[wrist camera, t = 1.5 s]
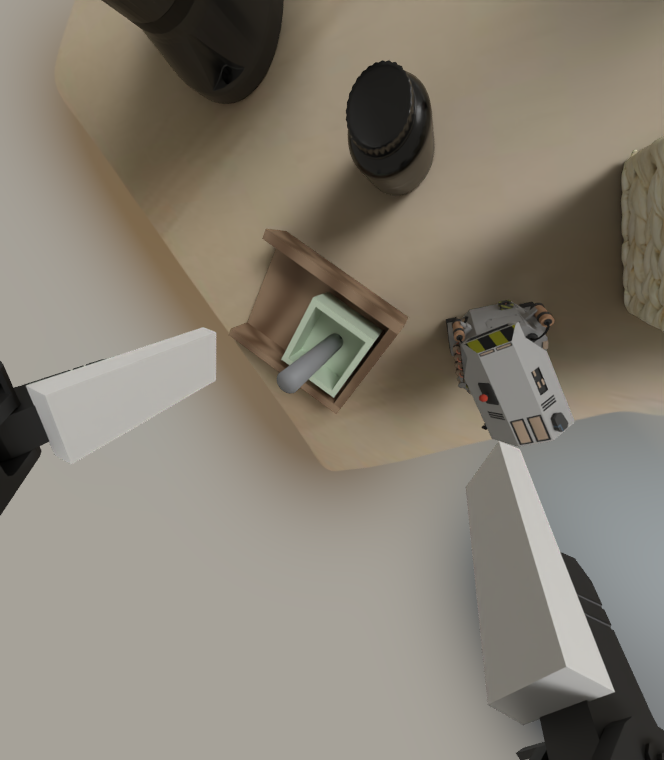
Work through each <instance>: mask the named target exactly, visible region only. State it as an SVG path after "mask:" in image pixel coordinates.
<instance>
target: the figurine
mask: <svg viewBox="0 0 664 760" xmlns="http://www.w3.org/2000/svg"><path fill="white" fill-rule="evenodd" d="M554 321H555V320H554V318H553V317H552V315H551V314H550V313H549V312H548V311H547V310H546V309H545V307H544V306H543V304H541V303H535V304H534V303H533V302H528V303H524V304H519V306H518V305H517V304H515V303H513V302H511V300H506V301H499V302H498V304H495V305H490V306H485V307H481V308H476V309H471V310H469V311H468V312H467V313H466V314H465V316H464V317H463V318H462V319H461V320H460V319H457V318H456V317H455V318H450V319H446V324H447V331H448V339H449V346H450V351H451V355H452V356H454V360H456V361H455V367H456V375H458V376H459V377H458V378H457V380H458V381H459V384H458V387H460V388H464V389H466V390H467V392H468V393H469V394H471V395H472V396H473V398H474V400H475V403H476V405H477V407H478V409H479V411H480V413H481V416H482V418H483V420H484V422H485V423H484V425H485V426H482V428H483V429H485V430H487V429H488V431H489V433H490V435H491V437H492V439H495V440H498V441H502V442H505V443H508V444H512V445H515V446H525V445H531V444H536V443H541V442H548V441H553V440H554V439H556V438H557V437H558V436H559V435H560V434H562V433H563V432H564V431H565V430H566V429H567V428H569V427H570V426H571V425H572V424H573V423H574V422H575V421H574V418H573V416H572V413H571V411H570V408H569V406H568V403H567V401H566V398H565V396H564V393H563V391H562V388H561V386H560V383H559V381H558V378H557V376H556V373H555V371H554V368H553V366H552V363H551V361H550V358H549V356H548V353H547V349H548V340H547V336H546V333H547V331H548V330H549V326H551V325H553V323H554ZM545 327H547V328H545Z"/></svg>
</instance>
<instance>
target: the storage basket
mask: <svg viewBox="0 0 664 760" xmlns="http://www.w3.org/2000/svg"><path fill="white" fill-rule="evenodd" d="M621 185H622V191H623V194H622V197H621V209H622V215H623V216H622V222H621V229H622V235H623V238H624V243H623V244H622V253H621V258H622V262H623V266H624V272H623V286H624V288H625V291H624V304H625V307H626V309H627V311H628V312H629V313H630V314H633V315H635V316H636V317H638V318H640V319H641V320H642V321H645V322H646V323H647V324H649V325H651V326H654V327H656V328H659V329H661V330H662V331H663V332H664V136H663V137H661V138H659V139H657V140H656V141H654V142H653V143H652V144H651V145H649V146H647V147H646V148H644V149H642V150H640V151H639V152H638V150H633V152H632V154H631V157H630V158H629V159H628V160H626V161H625V164H624V169H623V172H622V176H621Z"/></svg>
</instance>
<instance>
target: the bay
mask: <svg viewBox="0 0 664 760" xmlns="http://www.w3.org/2000/svg"><path fill="white" fill-rule="evenodd" d="M262 239H264V240H265V241H266V242H268V243H269V244H271V245H272V246H273V247H275V248H276V249H275V252H274V255H273V257H272V260H271V262H270V265H269V268H268V270H267V273H266V275H265V278H264V281H263V283H262V286H261V288H260V291H259V293H258V296H257V299H256V301H255V304H254V306H253V309H252V312H251V314H250V317H249V319H248V322H247V323H244V324H242V325H239V326H236V327H234V328H231V329H230V332H229V335H230V336H231V337H232V338H233V339H235V340H236V341H238V342H239V343H240V344H242V345H243V346H244V347H246V348H247V349H248V350H250V351H251V352H252V353H254V354H255V355H257V356H258V357H259V358H261V359H262V360H263V361H265V362H266V363H267V364H269V365H270V366H272V367H273V368H274V369H276V370H277V371H278V372H281V371H283V370H284V369H285V368H287V367H288V366H289V365H288V364H287V363H286V362H284V361H283V360H282V357H283V355H284V353H285V351H286V349H287V347H288V345H289V343H290V341H291V339H292V338H293V336H294V334H295V332H296V330H297V328H298V326H299V324H300V322H301V320H302V318H303V316H304V314H305V312H306V310H307V308H308V306H309V304H310V303H311V301H312V299H313V297H315V296H318V295H321V294H323V293H326V292H329V293H331V294H332V295H334V296H335V297H336V298H338V299H339V300H341V301H342V302H343V303H345V304H346V305H348V306H349V307H350V308H352V309H353V310H355V311H356V312H357V313H359V314H360V315H362V316H363V317H364V318H366V319H367V320H369V321H370V322H371V323H373V324H374V325H376V326H377V327H379V328H380V329H381V330H383V331H382V332H381V334H380V335H379V336H378V338H377V339H376V340H375V342H374V343H373V345H372V346H371V347H370V349H369V350H368V351H367V353H366V354H365V356H364V357H363V358H362V360H361V361H360V362H359V364H358V365H357V367H356V368H355V369H354V371H353V372H352V373H351V375H350V376H349V378H348V379H347V380H346V382H345V383H344V384H343V386H342V387H341V389H340V390H339V391H338V393H337V394H336V395H335V397H334V398H333V397H332V396H331V395H329V394H328V393H327V392H325V391H324V390H322V389H321V388H320V387H318V386H317V385H316V384H314V383H313V382H312V381H310V380H309V379H308V380H307V381H306V382H305V383H304V384H303V385H302V386H301V387H300V388H301V389H303V390H304V391H306V392H307V393H308V394H310V395H311V396H312V397H314V398H315V399H316V400H318V401H319V402H320V403H322V404H323V405H325V406H326V407H327V408H329V409H330V410H331V411H333V412H334V413H335V414H337V412H338V411H339V410H340V409H341V407H342V406H343V405H344V403H345V402H346V401H347V399H348V398H349V397H350V396H351V394H352V393H353V392H354V390H355V389H356V388H357V387H358V385H359V384H360V383H361V381H362V380H363V379H364V377H365V376H366V375H367V374H368V372H369V371H370V370H371V368H372V367H373V366H374V365H375V363H376V362H377V361H378V359H379V358H380V357H381V355H382V354H383V353H384V352H385V350H386V349H387V348H388V346H389V345H390V344H391V342H392V341H393V340H394V339H395V337H396V336H397V335H398V333H399V332H400V331H401V330H402V328H403V327H404V325H405V323H406V321H407V319H408V317H407V316H406V315H404V314H403V313H402V312H400V311H399V310H397V309H396V308H395V307H393V306H392V305H390V304H389V303H387V302H386V301H385V300H383V299H382V298H380V297H379V296H377V295H376V294H375V293H373V292H372V291H370V290H369V289H368V288H366V287H365V286H363V285H362V284H360V283H359V282H358V281H356V280H355V279H353V278H352V277H351V276H349V275H348V274H346V273H345V272H343V271H342V270H341V269H339V268H338V267H336V266H335V265H334V264H332V263H331V262H329V261H328V260H326V259H325V258H324V257H322V256H321V255H319V254H318V253H316V252H315V251H314V250H312V249H311V248H309V247H308V246H307V245H305V244H304V243H302V242H301V241H299V240H298V239H297V238H295V237H294V236H292V235H291V234H290V233H288V232H287V231H280V230H272V229H266V230H265V233H264V236H263V238H262Z"/></svg>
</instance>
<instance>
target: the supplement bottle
mask: <svg viewBox="0 0 664 760" xmlns="http://www.w3.org/2000/svg"><path fill="white" fill-rule="evenodd" d="M346 114H347V116H346V121H347V128H348V145H349V150H350V154H351V157H352V159H353V161H354V163H355V165H356V166H357V167H358V169H359V170H360V171H361V172H362V173H363V174H364V175H365V176H366V177H367V178H368V179H369V180H370V181H371V182H372V183H373V184H374V185H375V186H376V187H377V188H378V189H379V190H380V191H382V192H384V193H386V194H388V195H393V196H398V195H403V194H406V193H408V192H410V191H412V190H413V189H415V188H416V187H417V186H418V185H419V184H420V183H421V182H422V181H423V180H424V178H425V177H426V175H427V173H428V172H429V170H430V167H431V165H432V161H433V157H434V148H435V146H434V131H433V121H432V110H431V104H430V99H429V96H428V93H427V91H426V89H425V87H424V85H423V84H422V82H421V81H420V80H419V79H418V78H417V77H416V76H414V75H413V74H411V73H409V72H406V71H404V70H403V68H402V66H400V65H397V63H396V62H393V63H392V62H391V61H386V62H385V61H381V62H379V63H378V62H375V63H374V64H373V65H372V66H369V67H368V68H367V69H366V70H364V71H363V72H362V73H361V75H360V76H359V77H358V78H357V80H356V83H355V84H354V85H353V86H352V90H351V92H350V94H349V99H348V101H347V109H346Z"/></svg>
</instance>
